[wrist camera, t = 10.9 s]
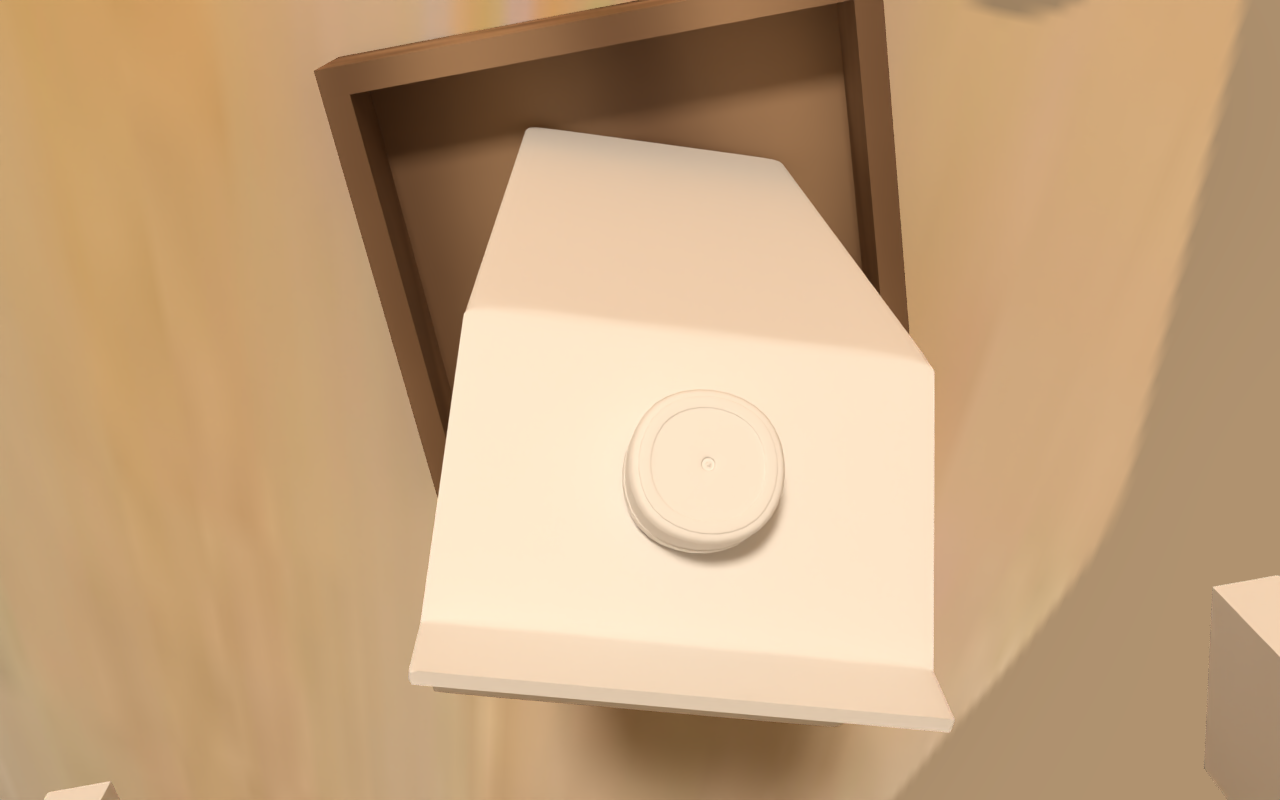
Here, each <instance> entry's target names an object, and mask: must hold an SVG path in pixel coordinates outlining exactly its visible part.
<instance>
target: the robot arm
mask: <svg viewBox="0 0 1280 800" xmlns="http://www.w3.org/2000/svg"><path fill="white" fill-rule="evenodd" d="M1206 718H1207V719H1206V739H1205V740H1206V741H1205V762H1204V769H1205V770H1206V772H1207V773H1208V774H1209V776H1210V777H1211V778H1212V780H1213V781H1214V782H1215V783H1216V785H1217V786H1218V788H1219V789H1220V790H1221V792H1222V793H1223V794H1224V796H1225V797H1226V799H1227V800H1280V576H1279V575H1277V576H1271V577H1266V578H1261V579H1254V580H1249V581H1243V582H1237V583H1232V584H1226V585H1220V586H1215V587H1213V588H1212V609H1211V632H1210V654H1209V674H1208V695H1207V717H1206ZM44 800H120V799H119V797H118V795H117V793H116V791H115V788H114V786H113V784H112V782H111V781H109V782H104V783H98V784H92V785H87V786H81V787H75V788H70V789H64V790H58V791H53V792H48V793H47V795H46V797H45V798H44Z"/></svg>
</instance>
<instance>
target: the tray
mask: <svg viewBox="0 0 1280 800" xmlns="http://www.w3.org/2000/svg"><path fill="white" fill-rule="evenodd" d="M314 73H315V76H316V80H317V83H318V87H319V90H320V94H321V97H322V101H323V104H324V107H325V111H326V114H327V118H328V121H329V125H330V128H331V132H332V135H333V139H334V142H335V145H336V149H337V152H338V156H339V159H340V163H341V166H342V170H343V173H344V176H345V180H346V183H347V187H348V190H349V194H350V197H351V201H352V204H353V207H354V211H355V214H356V218H357V221H358V225H359V228H360V232H361V235H362V239H363V242H364V245H365V249H366V252H367V256H368V259H369V263H370V266H371V270H372V273H373V276H374V280H375V283H376V287H377V290H378V294H379V297H380V301H381V304H382V307H383V311H384V314H385V318H386V321H387V325H388V328H389V332H390V335H391V339H392V342H393V345H394V349H395V352H396V356H397V359H398V363H399V366H400V370H401V373H402V376H403V380H404V383H405V387H406V390H407V394H408V397H409V401H410V404H411V408H412V411H413V414H414V418H415V421H416V425H417V428H418V432H419V435H420V439H421V442H422V445H423V449H424V452H425V456H426V459H427V463H428V466H429V470H430V473H431V476H432V480H433V483H434V487H435V490H436V494H437V497H438V494H439V487H440V480H441V473H442V466H443V458H444V451H445V444H446V437H447V430H448V423H449V416H450V408H451V401H452V394H453V387H454V380H455V373H456V366H457V358H458V351H459V344H460V337H461V330H462V323H463V316H464V313H465V311H466V308H467V305H468V302H469V299H470V296H471V293H472V290H473V287H474V284H475V281H476V278H477V275H478V272H479V269H480V266H481V263H482V260H483V257H484V254H485V251H486V248H487V245H488V242H489V239H490V236H491V233H492V230H493V227H494V224H495V221H496V218H497V215H498V212H499V209H500V206H501V203H502V200H503V197H504V194H505V191H506V188H507V185H508V182H509V179H510V176H511V173H512V170H513V167H514V164H515V161H516V158H517V155H518V152H519V149H520V146H521V143H522V140H523V137H524V134H525V131H526V129H528V128H531V127H538V128H548V129H556V130H564V131H571V132H578V133H586V134H593V135H600V136H608V137H615V138H622V139H630V140H637V141H645V142H652V143H659V144H667V145H674V146H681V147H689V148H696V149H703V150H711V151H718V152H725V153H733V154H740V155H747V156H754V157H761V158H767V159H773V160H776V161H779V162H781V163H782V164H783V165H784V167H785V168H786V169H787V171H788V172H789V173H790V175H791V176H792V177H793V179H794V180H795V181H796V183H797V184H798V185H799V187H800V188H801V189H802V191H803V192H804V194H805V195H806V196H807V198H808V199H809V200H810V202H811V203H812V204H813V206H814V207H815V208H816V210H817V211H818V212H819V214H820V215H821V216H822V218H823V219H824V221H825V222H826V223H827V225H828V226H829V227H830V229H831V230H832V231H833V233H834V234H835V235H836V237H837V238H838V239H839V241H840V242H841V243H842V245H843V246H844V247H845V249H846V250H847V252H848V253H849V254H850V256H851V257H852V258H853V260H854V261H855V262H856V264H857V265H858V266H859V268H860V269H861V270H862V272H863V273H864V274H865V276H866V277H867V279H868V280H869V281H870V283H871V284H872V285H873V287H874V288H875V289H876V291H877V292H878V293H879V295H880V296H881V297H882V299H883V300H884V301H885V303H886V304H887V306H888V307H889V308H890V310H891V311H892V312H893V314H894V315H895V316H896V318H897V319H898V320H899V322H900V323H901V324H902V326H903V327H904V328H905V330H906V331H907V333H908V334H909V324H908V311H907V298H906V285H905V273H904V260H903V247H902V234H901V221H900V209H899V196H898V183H897V170H896V157H895V144H894V132H893V119H892V106H891V93H890V80H889V68H888V55H887V42H886V29H885V16H884V4H883V0H638V1H632V2H627V3H622V4H616V5H611V6H606V7H601V8H595V9H590V10H585V11H580V12H574V13H569V14H564V15H558V16H553V17H548V18H543V19H537V20H532V21H527V22H522V23H516V24H511V25H506V26H500V27H495V28H490V29H485V30H479V31H474V32H469V33H464V34H458V35H453V36H448V37H443V38H437V39H432V40H427V41H421V42H416V43H411V44H406V45H400V46H395V47H390V48H385V49H379V50H374V51H369V52H363V53H358V54H353V55H348V56H342V57H338V58H336V59H335V60H333V61H331V62H329V63H327V64H326V65H324V66H322V67H320V68H318V69H317V70H315V71H314Z"/></svg>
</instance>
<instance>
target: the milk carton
mask: <svg viewBox="0 0 1280 800" xmlns="http://www.w3.org/2000/svg"><path fill="white" fill-rule="evenodd" d="M933 662H934V370H933V368H932V367H931V366H930V364H929V362H928V361H927V359H926V358H925V356H924V355H923V353H922V352H921V350H920V349H919V348H918V346H917V345H916V343H915V342H914V341H913V339H912V338H911V337H910V335H909V334H908V333H907V331H906V330H905V328H904V327H903V326H902V324H901V323H900V322H899V320H898V319H897V318H896V316H895V315H894V314H893V312H892V311H891V310H890V308H889V307H888V306H887V304H886V303H885V301H884V300H883V299H882V297H881V296H880V295H879V293H878V292H877V291H876V289H875V288H874V287H873V285H872V284H871V283H870V281H869V280H868V279H867V277H866V276H865V274H864V273H863V272H862V270H861V269H860V268H859V266H858V265H857V264H856V262H855V261H854V260H853V258H852V257H851V256H850V254H849V253H848V252H847V250H846V249H845V247H844V246H843V245H842V243H841V242H840V241H839V239H838V238H837V237H836V235H835V234H834V233H833V231H832V230H831V229H830V227H829V226H828V225H827V223H826V222H825V221H824V219H823V218H822V216H821V215H820V214H819V212H818V211H817V210H816V208H815V207H814V206H813V204H812V203H811V202H810V200H809V199H808V198H807V196H806V195H805V194H804V192H803V191H802V189H801V188H800V187H799V185H798V184H797V183H796V181H795V180H794V179H793V177H792V176H791V175H790V173H789V172H788V171H787V169H786V168H785V167H784V165H783V164H782V163H781V162H779V161H776V160H773V159H767V158H761V157H754V156H747V155H740V154H733V153H725V152H718V151H711V150H703V149H696V148H689V147H681V146H674V145H667V144H659V143H652V142H645V141H637V140H630V139H622V138H615V137H608V136H600V135H593V134H586V133H578V132H571V131H564V130H556V129H548V128H538V127H531V128H528V129H526V131H525V134H524V137H523V140H522V143H521V146H520V149H519V152H518V155H517V158H516V161H515V164H514V167H513V170H512V173H511V176H510V179H509V182H508V185H507V188H506V191H505V194H504V197H503V200H502V203H501V206H500V209H499V212H498V215H497V218H496V221H495V224H494V227H493V230H492V233H491V236H490V239H489V242H488V245H487V248H486V251H485V254H484V257H483V260H482V263H481V266H480V269H479V272H478V275H477V278H476V281H475V284H474V287H473V290H472V293H471V296H470V299H469V302H468V305H467V308H466V311H465V313H464V316H463V323H462V330H461V337H460V344H459V351H458V358H457V366H456V373H455V380H454V387H453V394H452V401H451V408H450V416H449V423H448V430H447V437H446V444H445V451H444V458H443V466H442V473H441V480H440V487H439V494H438V501H437V508H436V516H435V523H434V530H433V537H432V544H431V551H430V558H429V565H428V573H427V580H426V587H425V594H424V601H423V608H422V616H421V623H420V627H419V631H418V635H417V639H416V643H415V647H414V651H413V655H412V659H411V663H410V667H409V676H408V678H409V681H410V682H411V684H412V685H423V686H433V689H434V691H438V692H446V693H456V694H466V695H477V696H488V697H499V698H510V699H522V700H533V701H544V702H555V703H567V704H578V705H589V706H600V707H612V708H623V709H634V710H645V711H657V712H668V713H679V714H691V715H702V716H713V717H724V718H736V719H747V720H758V721H769V722H781V723H792V724H804V725H816V726H831V727H836V726H839V725H841V724H843V723H849V724H860V725H871V726H883V727H894V728H905V729H916V730H927V731H939V732H950V731H951V729H952V727H953V724H954V721H955V719H954V717H953V714H952V712H951V710H950V708H949V705H948V703H947V701H946V699H945V696H944V694H943V692H942V690H941V687H940V685H939V683H938V681H937V678H936V676H935V674H934V672H933V670H934V667H933Z"/></svg>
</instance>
